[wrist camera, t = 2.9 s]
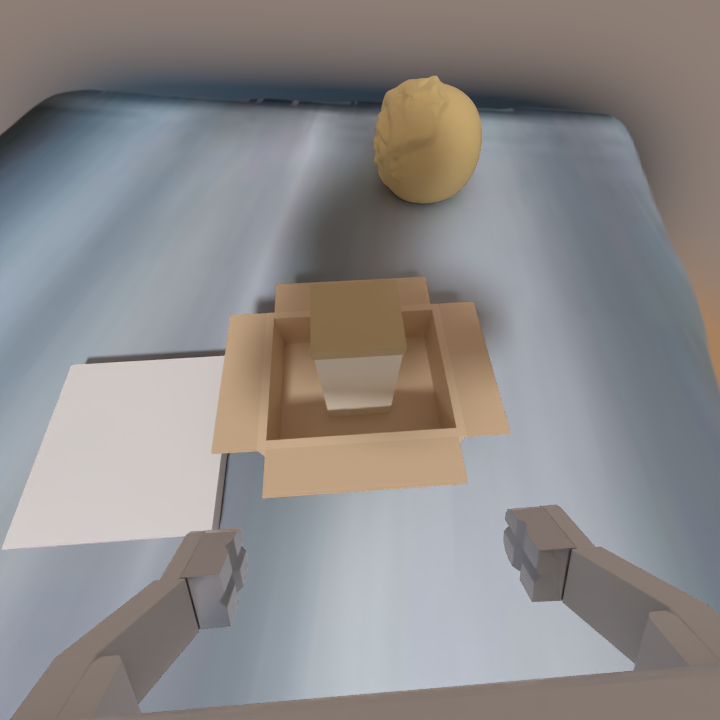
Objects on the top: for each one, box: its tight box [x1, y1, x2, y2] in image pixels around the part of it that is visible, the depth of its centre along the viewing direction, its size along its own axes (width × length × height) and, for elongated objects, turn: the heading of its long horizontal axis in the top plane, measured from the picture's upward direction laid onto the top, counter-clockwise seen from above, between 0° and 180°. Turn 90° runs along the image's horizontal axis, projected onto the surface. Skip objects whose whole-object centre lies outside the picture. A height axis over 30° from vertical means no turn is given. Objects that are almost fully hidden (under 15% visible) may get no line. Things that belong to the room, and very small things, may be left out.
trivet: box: [1, 356, 227, 550], centre depth 26 cm, size 14×14×1 cm
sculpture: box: [373, 76, 482, 204], centre depth 37 cm, size 11×12×11 cm
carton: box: [211, 276, 511, 498], centre depth 27 cm, size 17×20×4 cm
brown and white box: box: [310, 280, 407, 417], centre depth 24 cm, size 5×5×11 cm
